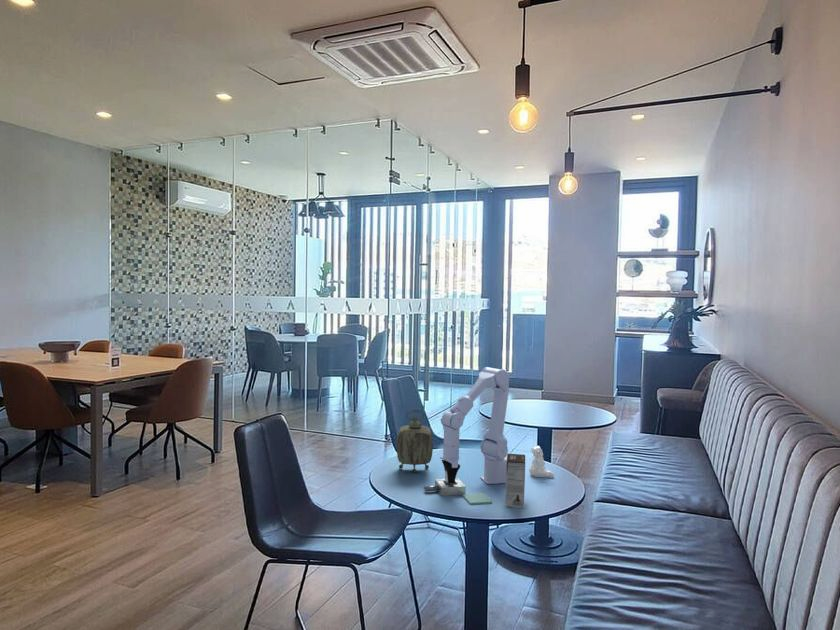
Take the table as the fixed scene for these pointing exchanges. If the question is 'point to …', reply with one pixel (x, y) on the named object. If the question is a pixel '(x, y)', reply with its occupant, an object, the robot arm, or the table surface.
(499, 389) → the robot arm
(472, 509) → the table surface
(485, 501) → the mat
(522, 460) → the coffee box
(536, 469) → the white creature statuette
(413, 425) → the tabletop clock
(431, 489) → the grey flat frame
